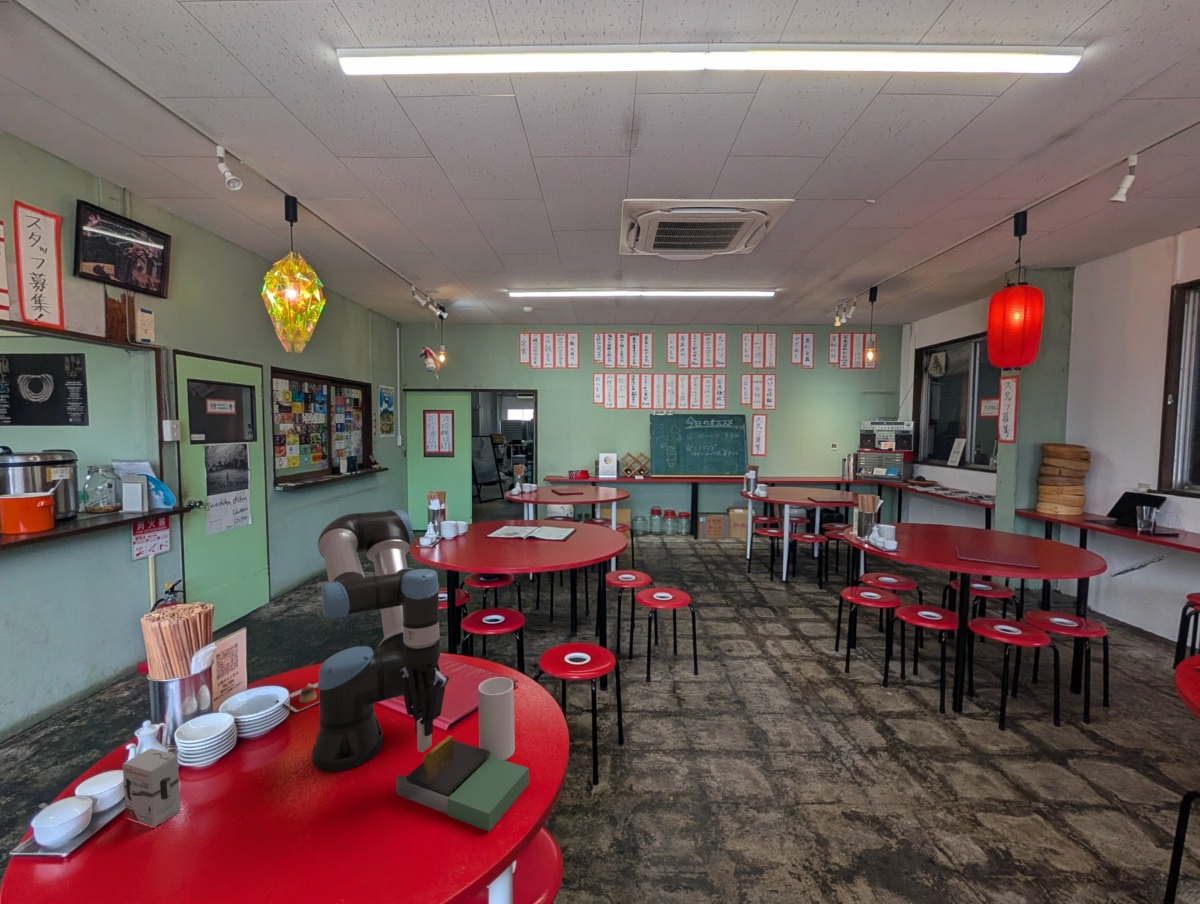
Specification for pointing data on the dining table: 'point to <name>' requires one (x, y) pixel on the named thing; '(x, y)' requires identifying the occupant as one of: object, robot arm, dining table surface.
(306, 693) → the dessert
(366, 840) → the dining table surface
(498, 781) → the green rectangular box
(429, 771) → the cover
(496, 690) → the cup
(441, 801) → the bracket
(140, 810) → the ink box
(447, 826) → the dining table surface
